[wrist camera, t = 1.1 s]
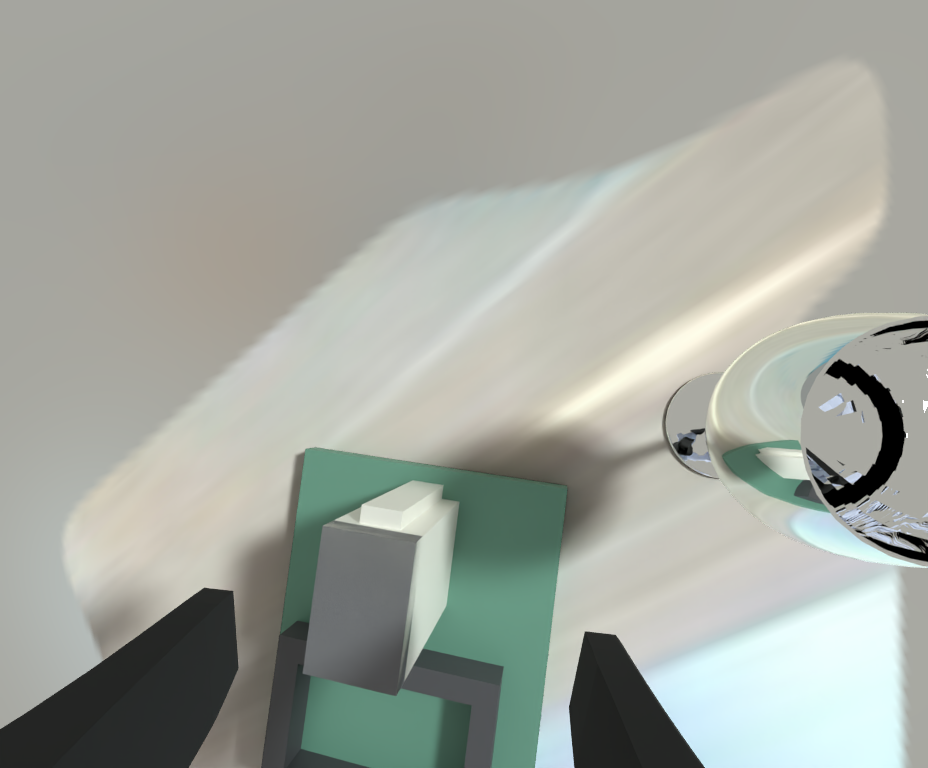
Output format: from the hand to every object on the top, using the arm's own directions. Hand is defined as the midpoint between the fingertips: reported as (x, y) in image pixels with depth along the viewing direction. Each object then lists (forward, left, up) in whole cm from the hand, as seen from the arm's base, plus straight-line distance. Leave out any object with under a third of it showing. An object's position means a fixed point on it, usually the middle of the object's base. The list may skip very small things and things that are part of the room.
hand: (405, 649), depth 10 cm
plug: (-1, +3, -11) cm, 12 cm away
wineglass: (+6, -9, -13) cm, 17 cm away
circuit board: (-5, +3, -12) cm, 14 cm away
